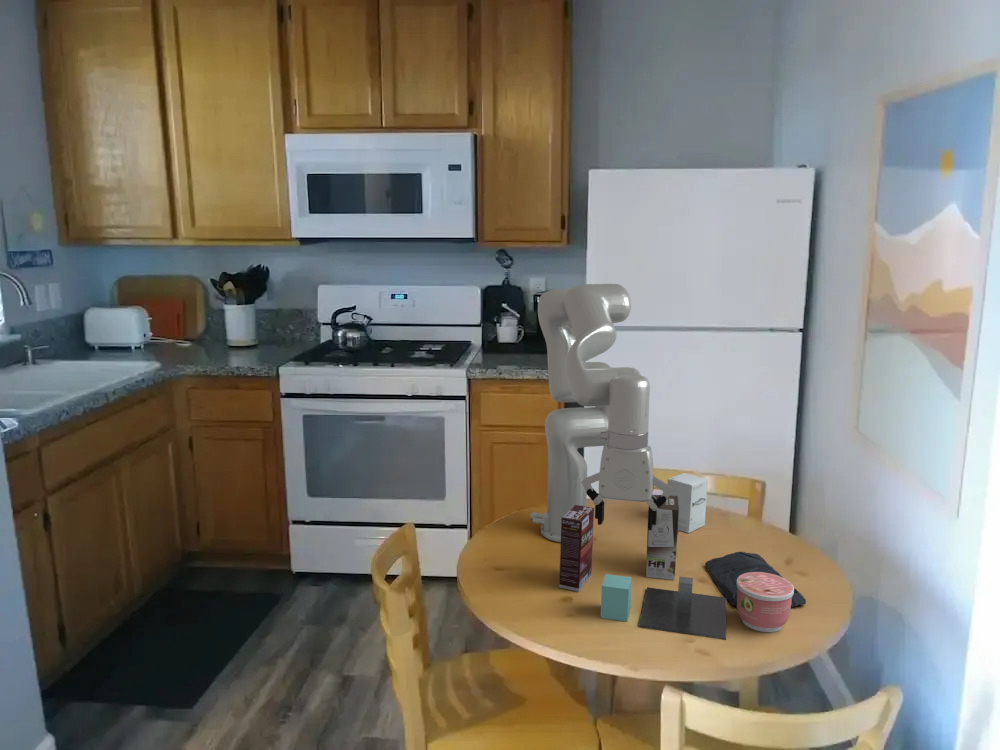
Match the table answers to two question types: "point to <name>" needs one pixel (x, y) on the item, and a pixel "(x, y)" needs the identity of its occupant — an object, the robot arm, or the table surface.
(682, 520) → the supplement box
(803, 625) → the table surface
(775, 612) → the container
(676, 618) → the brushed steel sheet
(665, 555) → the coffee box
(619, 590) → the teal rectangular block
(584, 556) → the supplement box
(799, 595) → the dark fabric pouch
